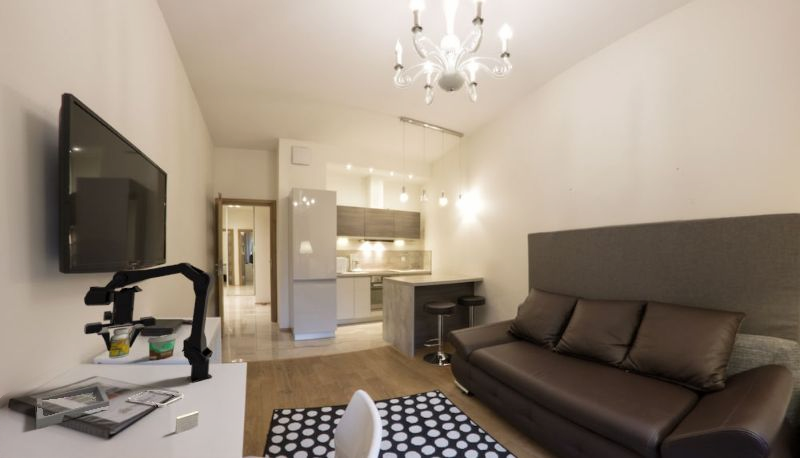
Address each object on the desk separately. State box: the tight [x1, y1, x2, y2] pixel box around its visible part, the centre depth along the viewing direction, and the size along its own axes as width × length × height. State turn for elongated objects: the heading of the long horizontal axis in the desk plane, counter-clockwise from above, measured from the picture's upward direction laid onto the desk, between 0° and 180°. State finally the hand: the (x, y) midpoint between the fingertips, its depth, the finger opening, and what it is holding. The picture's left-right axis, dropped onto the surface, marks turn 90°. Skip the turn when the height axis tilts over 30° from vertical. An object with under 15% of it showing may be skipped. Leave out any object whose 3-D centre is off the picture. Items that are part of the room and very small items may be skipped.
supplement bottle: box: [108, 327, 131, 360], centre depth 110 cm, size 5×5×10 cm
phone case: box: [127, 389, 185, 408], centre depth 99 cm, size 7×1×15 cm
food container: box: [147, 331, 178, 361], centre depth 139 cm, size 12×6×10 cm, turn 168°
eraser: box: [174, 410, 200, 434], centre depth 82 cm, size 1×5×4 cm, turn 137°
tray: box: [35, 384, 110, 430], centre depth 92 cm, size 18×14×2 cm
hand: (119, 349), depth 110 cm, fingers closed on supplement bottle, 5 cm apart
